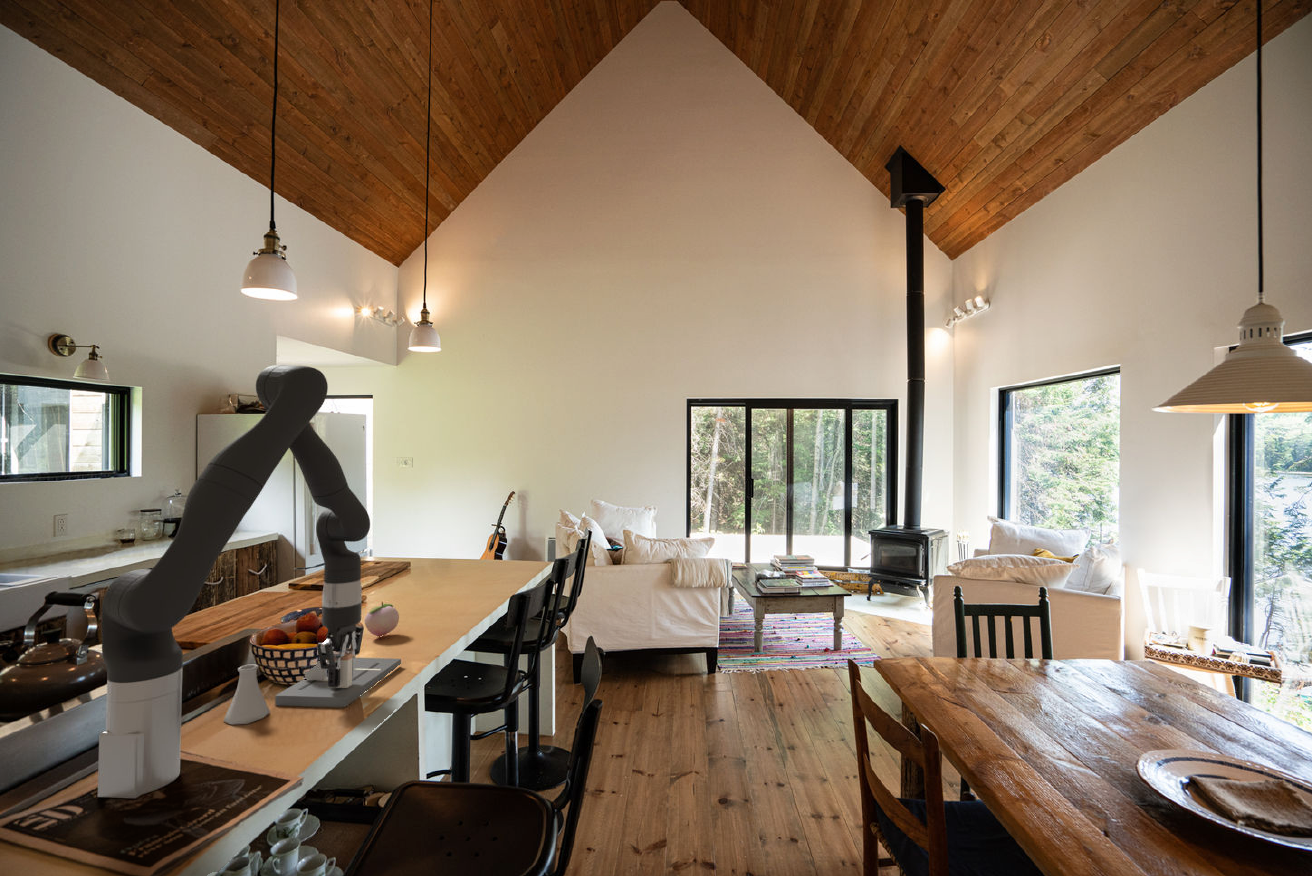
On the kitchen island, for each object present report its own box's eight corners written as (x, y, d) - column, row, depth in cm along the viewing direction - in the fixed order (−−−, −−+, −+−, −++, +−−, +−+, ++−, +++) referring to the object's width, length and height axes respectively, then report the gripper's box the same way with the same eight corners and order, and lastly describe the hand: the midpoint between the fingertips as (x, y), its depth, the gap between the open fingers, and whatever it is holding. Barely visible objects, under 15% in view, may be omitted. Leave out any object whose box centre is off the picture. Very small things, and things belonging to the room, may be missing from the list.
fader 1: (322, 680, 135) (322, 648, 135) (304, 679, 135) (305, 648, 135) (327, 676, 137) (328, 646, 137) (309, 676, 137) (310, 645, 137)
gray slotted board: (345, 707, 126) (345, 697, 126) (275, 705, 127) (275, 695, 127) (400, 667, 150) (401, 658, 150) (341, 665, 151) (341, 656, 151)
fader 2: (347, 688, 130) (348, 655, 131) (328, 687, 131) (329, 655, 131) (352, 684, 132) (352, 652, 132) (333, 684, 133) (334, 652, 133)
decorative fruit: (387, 643, 169) (388, 606, 169) (359, 642, 170) (360, 605, 170) (405, 633, 178) (405, 598, 179) (378, 632, 179) (379, 597, 179)
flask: (247, 727, 117) (248, 674, 117) (215, 724, 118) (216, 671, 119) (277, 712, 124) (278, 662, 124) (247, 708, 125) (248, 659, 126)
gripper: (340, 610, 125) (338, 696, 124) (376, 594, 139) (374, 671, 138) (304, 609, 125) (302, 695, 125) (344, 593, 139) (342, 670, 139)
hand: (340, 681), depth 132 cm, fingers open, 4 cm apart
